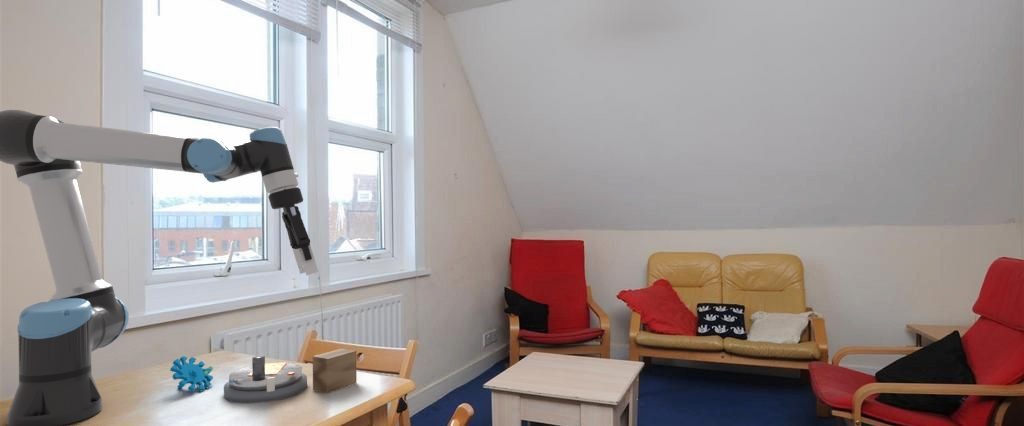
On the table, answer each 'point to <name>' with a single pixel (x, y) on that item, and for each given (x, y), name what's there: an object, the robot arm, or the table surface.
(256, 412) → the table surface
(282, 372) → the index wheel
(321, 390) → the link block
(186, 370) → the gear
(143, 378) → the table surface
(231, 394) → the wheel base
